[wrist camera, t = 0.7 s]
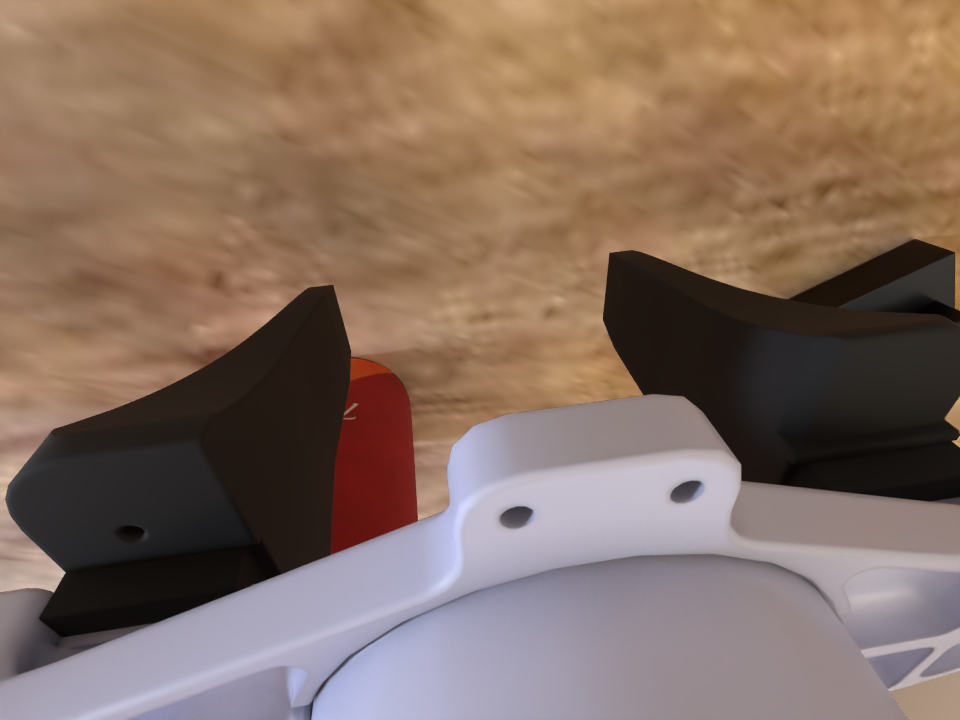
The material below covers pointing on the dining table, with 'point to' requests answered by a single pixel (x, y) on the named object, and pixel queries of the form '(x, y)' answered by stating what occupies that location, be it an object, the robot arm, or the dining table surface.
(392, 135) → the dining table surface
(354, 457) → the coffee cup
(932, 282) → the switch block
